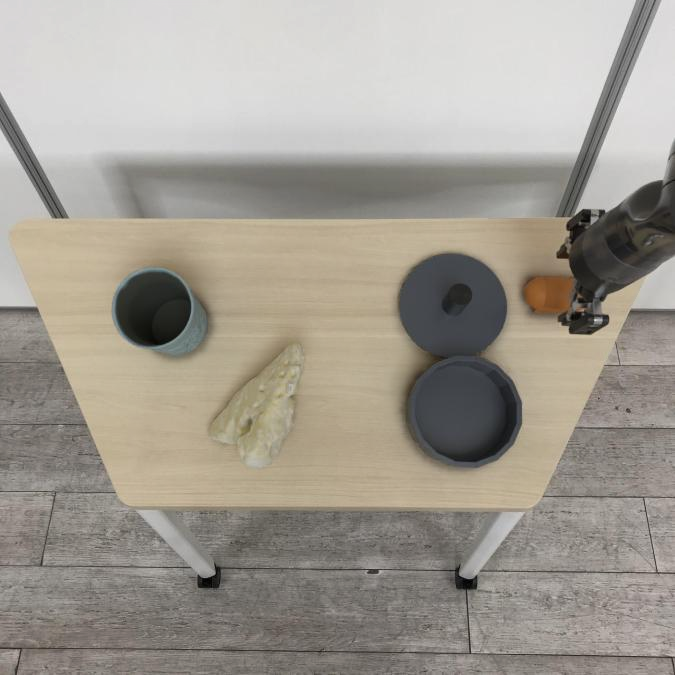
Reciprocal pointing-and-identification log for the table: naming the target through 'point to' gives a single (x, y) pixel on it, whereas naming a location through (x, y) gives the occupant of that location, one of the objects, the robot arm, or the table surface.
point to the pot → (464, 411)
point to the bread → (549, 294)
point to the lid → (453, 305)
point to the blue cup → (158, 312)
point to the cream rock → (262, 410)
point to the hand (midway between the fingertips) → (564, 287)
